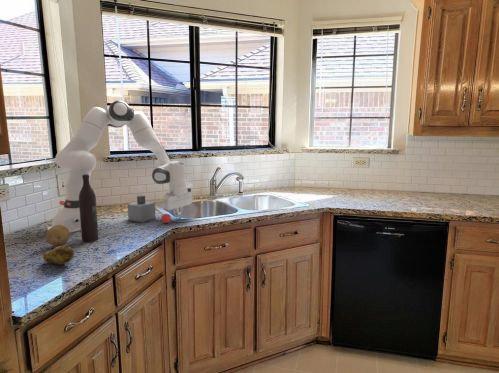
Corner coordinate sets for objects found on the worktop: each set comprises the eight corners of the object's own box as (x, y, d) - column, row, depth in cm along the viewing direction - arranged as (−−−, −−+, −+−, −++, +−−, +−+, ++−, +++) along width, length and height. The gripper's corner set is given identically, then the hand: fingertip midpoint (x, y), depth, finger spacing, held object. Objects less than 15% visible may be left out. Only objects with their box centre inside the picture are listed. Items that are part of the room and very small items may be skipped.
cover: (141, 222, 200) (140, 198, 198) (128, 219, 205) (127, 196, 203) (155, 218, 208) (154, 195, 206) (142, 215, 214) (141, 193, 211)
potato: (64, 257, 149) (62, 238, 148) (78, 266, 141) (76, 246, 139) (41, 263, 143) (39, 243, 142) (54, 272, 135) (52, 251, 133)
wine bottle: (96, 241, 168) (92, 175, 163) (79, 242, 167) (74, 176, 162) (100, 236, 175) (95, 173, 170) (84, 237, 174) (79, 173, 168)
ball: (166, 224, 196) (166, 215, 195) (159, 223, 198) (159, 214, 197) (173, 222, 200) (172, 213, 199) (166, 221, 202) (165, 212, 202)
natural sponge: (61, 252, 155) (59, 228, 153) (41, 250, 157) (39, 227, 155) (74, 244, 164) (73, 222, 162) (56, 243, 165) (54, 221, 164)
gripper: (169, 194, 194) (169, 220, 197) (193, 188, 212) (194, 211, 214) (159, 193, 197) (160, 218, 200) (185, 186, 215) (185, 210, 217)
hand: (178, 214), depth 207 cm, fingers closed
